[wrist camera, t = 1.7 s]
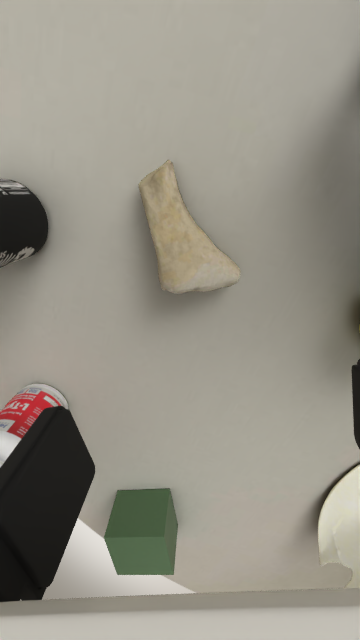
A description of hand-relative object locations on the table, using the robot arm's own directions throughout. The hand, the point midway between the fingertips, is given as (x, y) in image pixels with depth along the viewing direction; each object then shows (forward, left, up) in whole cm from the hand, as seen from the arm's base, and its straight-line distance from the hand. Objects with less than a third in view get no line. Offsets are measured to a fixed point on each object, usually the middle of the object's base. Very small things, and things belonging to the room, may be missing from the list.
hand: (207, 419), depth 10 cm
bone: (-1, +4, -20) cm, 20 cm away
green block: (-11, -31, -20) cm, 38 cm away
